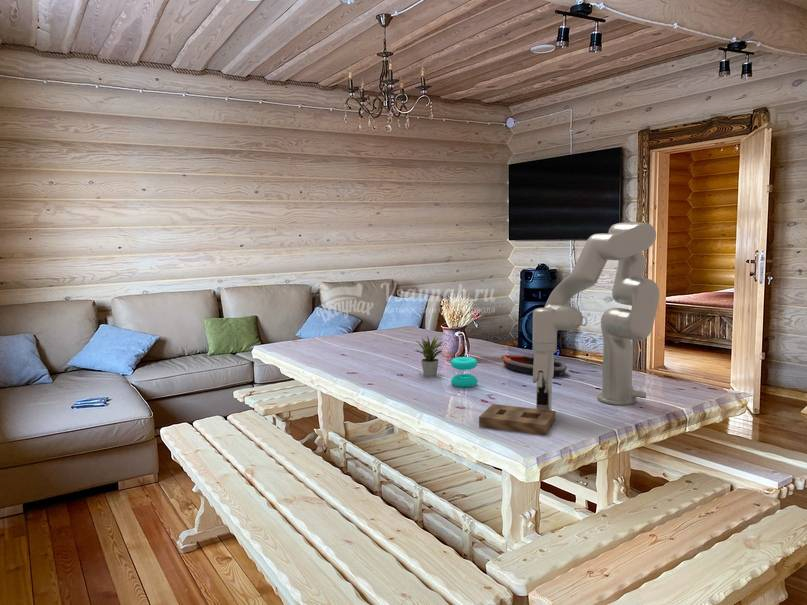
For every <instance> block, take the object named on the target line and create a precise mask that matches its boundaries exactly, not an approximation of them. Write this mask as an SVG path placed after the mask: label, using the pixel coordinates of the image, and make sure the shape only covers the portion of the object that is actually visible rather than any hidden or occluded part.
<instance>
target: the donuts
mask: <svg viewBox="0 0 807 605" xmlns="http://www.w3.org/2000/svg"><path fill="white" fill-rule="evenodd" d="M450 365H451V366H452V368H454V369H456V370H459V371H469V370H472V369H475V368H476V367H477V366H478V361H477V359H476V358H474V357H470V356H460V357H459V356H458V357H454V358H452V359H451V361H450ZM450 383H451V384H452V386H454V387H458V388H472V387H474V386H476V385H477V384H478V378H477V377H476V376H475V375H473V374H469V373H458V374H455V375H454V376H452V377H451V379H450Z"/></svg>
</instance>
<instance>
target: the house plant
mask: <svg viewBox="0 0 807 605" xmlns="http://www.w3.org/2000/svg"><path fill="white" fill-rule="evenodd" d="M426 337H427V339H426V340H425V339H424V338H423V337H421V340H422V342H421V343H420V342H419V341H416V343H417V344H418V345H419V346H420V347H421V349H422V350H421V351H420V350H415V351H413V352H415V353H420V354H422V355H423V357H424V358H422V359H421V367H422V371H423V376H425V377H436V376H437V373H438V368H439V359H438V358H436V357H437V356H438V355H439V354H441V355H443V356H444V353H443V348H441V349H438V348H440V347H441V346H445V345H446V344H444V343H445V342H446V341H447V339H445V340H442V341H439V342H438V339H439V337H436V336H434V337H433V338H432V341H430V339H429V336H428V335H426Z"/></svg>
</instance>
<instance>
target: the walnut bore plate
mask: <svg viewBox="0 0 807 605" xmlns="http://www.w3.org/2000/svg"><path fill="white" fill-rule="evenodd" d="M555 422H556V411H555V410H552V409H551V410H542V409H536V408H531V407H524V406H523V407H522V406H515V405H514V406H513V405H505V404H496V403H492V404H491V405H490V406H489V407H488V408H486V409H485V411H483V412H482V413H481V414H480V415H479V416H478V427H480V428H490V429H495V430H504V431H512V432H518V433H520V432H521V433H526V434H527V433H528V434H533V435H541V436H546V435H547V433H548V432H549V430H550V429H551V428H552V426H553V424H554V423H555Z"/></svg>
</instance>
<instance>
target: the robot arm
mask: <svg viewBox="0 0 807 605" xmlns="http://www.w3.org/2000/svg"><path fill="white" fill-rule="evenodd" d="M656 239H657V232H656V229H655V227H654V226H653V225H652V224H651V223H648V222H641V221H640V222H618V223H615V224H612V225H611V226H610V228H608V232H607V233H602V232H601V233H594V234H592V235H590V236H589V237H588V238H587V240H586V241H585V244H584V246H583V248H582V249H581V253H580V254H579V255H578V258H577V259H576V260H577V261H576V263H575V264H574V266H573V269H572V270H571V273H570V274H569V275H567V276H566V277H565V278H563V280H562V281H561V282H560V283H559V284H557V285H556V286H555V287H554V288H553V290H552V291H551V293H550V295H549V296H548V299H547V300H546V303H545V305H544V307H538V308H535V309H533V311H532V352H533V354H534V355H533V357H534V363H533V374H532V384H537V381H538V386H537V385H536V397H537V404H538V405H547V404H548V393H547V384H548V383H549V382H550V381H551V379H552V380H553V378H554V376H553V374H554V360H555V359H554V358H555V356H554V354H555V353H557V350H558V347H557V346H558V344H557V342H558V331H569V332H570V331H575V330H578V329H579V328H580V327H581V326H582V324H583V322H584V317H583V314H582V312H581V311H580V310H579V309H577V308H576V307H572V306H569V305H568V303H569V302H570V300H571V299H573V297H574V296H575V295H577V294H579V293H580V292H583V291H585V290H588V289H589V288H592V287H595V285H596V284H597V283H598V280H599V278H600V276H601V274H602V272H603V270H604V267H605V266H606V264H607V262H608V261H617V269H616V273H615V276H614V281H613V285H612V286H613V287H612V291H611V297H612V299H613V300H614V302H616V303H618V304H621V305H626V306H629V307H630V306H631V308H630V309H629V308H623V307H611V308H608V309H606V310H605V311H604V313H602V314H601V317H600V327H601V328H600V329H601V333H602V334H601V335H602V344H603V345H602V347H603V348H602V349H603V350H602V351H603V352H602V388H601V389H602V392H600V393H598V394H597V400H598V401H600V402H602V403H605V404H609V405H617V406H625V405H632V404H636V402H637V400H638V399H637V398H640V399H646V398H647V393H646V392H644V391H643V390H636V389H634V388H635V387H634V386H633V367H634V366H633V364H634V363H633V362H634V347H633V346H634V345H633V343H632V341H636V342H640V341H644V340H646V339H648V337H649V336H650V334H651V333H652V330H653V327H654V323H655V319H656V314H657V310H658V306H659V302H660V289H659V286H658V285H657V283H656V282H655V281H654V280H653V279H650V278H645V277H644V276H645V275H644V274H645V270H646V269H645V268H646V258H645V255H644V253H643V251H646V250H648V249H649V248H651V247H652V246H653V244H655V241H656ZM537 379H538V380H537ZM543 381H545V383H543ZM543 385H545V388H544V386H543ZM537 387H538V389H537Z"/></svg>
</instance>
